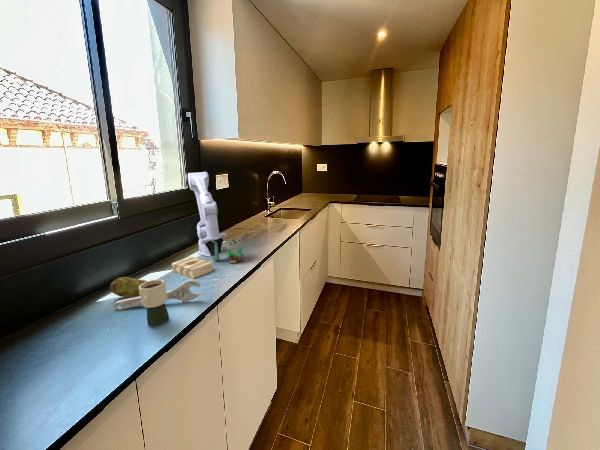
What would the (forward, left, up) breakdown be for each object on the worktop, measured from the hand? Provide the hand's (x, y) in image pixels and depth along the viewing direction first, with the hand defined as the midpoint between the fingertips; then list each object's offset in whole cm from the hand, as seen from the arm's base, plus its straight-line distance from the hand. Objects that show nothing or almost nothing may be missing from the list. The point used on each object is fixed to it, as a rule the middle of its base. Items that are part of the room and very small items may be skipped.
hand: (215, 254), depth 141 cm
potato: (+3, -41, -4) cm, 41 cm away
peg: (0, 0, -3) cm, 3 cm away
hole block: (+1, -14, -4) cm, 14 cm away
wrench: (+19, -39, -4) cm, 43 cm away
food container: (+10, +6, -4) cm, 12 cm away
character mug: (+30, -45, -4) cm, 54 cm away
